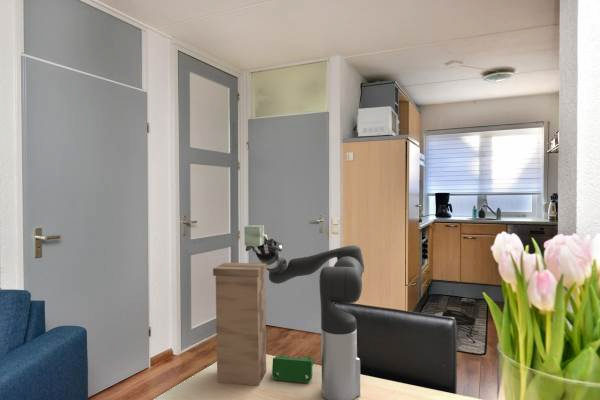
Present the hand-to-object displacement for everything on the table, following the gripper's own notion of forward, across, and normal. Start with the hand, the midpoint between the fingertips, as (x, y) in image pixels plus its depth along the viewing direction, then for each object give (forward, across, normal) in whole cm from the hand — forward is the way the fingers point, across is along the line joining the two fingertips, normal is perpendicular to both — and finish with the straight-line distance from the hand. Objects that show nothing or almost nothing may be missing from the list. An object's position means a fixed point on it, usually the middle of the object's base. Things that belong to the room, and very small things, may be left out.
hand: (257, 236), depth 127 cm
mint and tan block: (-2, 0, +1) cm, 3 cm away
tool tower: (-4, 0, +42) cm, 42 cm away
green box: (-7, +15, +41) cm, 44 cm away
